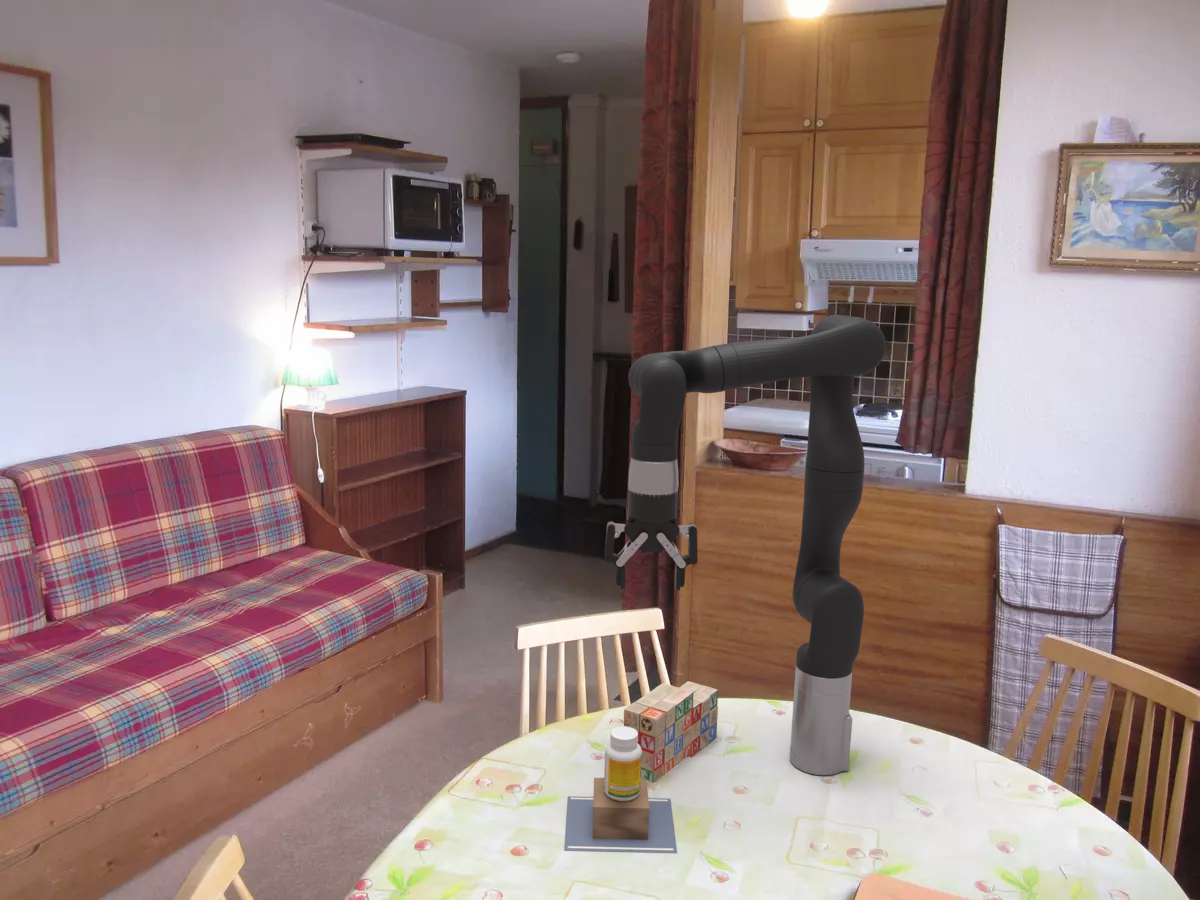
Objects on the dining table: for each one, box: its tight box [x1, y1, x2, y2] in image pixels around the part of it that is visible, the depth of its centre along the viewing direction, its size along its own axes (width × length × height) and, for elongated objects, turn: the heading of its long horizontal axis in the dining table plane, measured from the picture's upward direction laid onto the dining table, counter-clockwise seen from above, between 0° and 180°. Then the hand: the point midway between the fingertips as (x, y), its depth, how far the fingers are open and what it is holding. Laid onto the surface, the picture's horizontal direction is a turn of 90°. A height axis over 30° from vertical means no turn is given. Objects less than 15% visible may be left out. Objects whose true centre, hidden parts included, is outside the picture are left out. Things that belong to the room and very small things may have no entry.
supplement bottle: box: [603, 725, 642, 801], centre depth 140 cm, size 5×5×10 cm
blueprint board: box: [563, 795, 678, 854], centre depth 142 cm, size 16×14×1 cm
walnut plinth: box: [592, 777, 649, 840], centre depth 141 cm, size 8×8×5 cm
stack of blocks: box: [623, 680, 719, 783], centre depth 162 cm, size 21×6×12 cm, turn 145°
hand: (649, 588), depth 148 cm, fingers open, 8 cm apart
